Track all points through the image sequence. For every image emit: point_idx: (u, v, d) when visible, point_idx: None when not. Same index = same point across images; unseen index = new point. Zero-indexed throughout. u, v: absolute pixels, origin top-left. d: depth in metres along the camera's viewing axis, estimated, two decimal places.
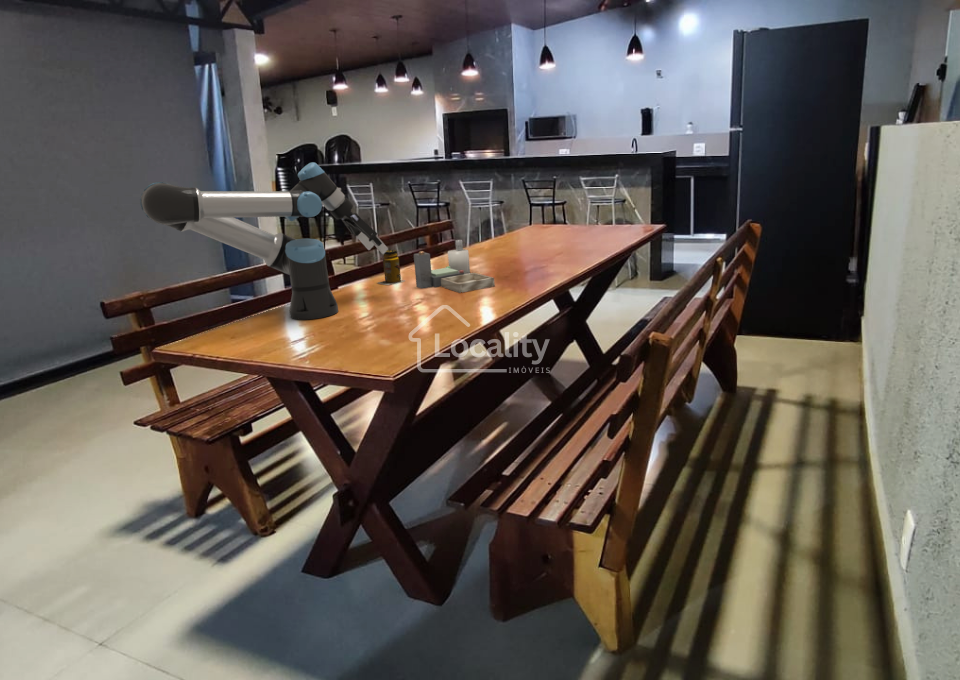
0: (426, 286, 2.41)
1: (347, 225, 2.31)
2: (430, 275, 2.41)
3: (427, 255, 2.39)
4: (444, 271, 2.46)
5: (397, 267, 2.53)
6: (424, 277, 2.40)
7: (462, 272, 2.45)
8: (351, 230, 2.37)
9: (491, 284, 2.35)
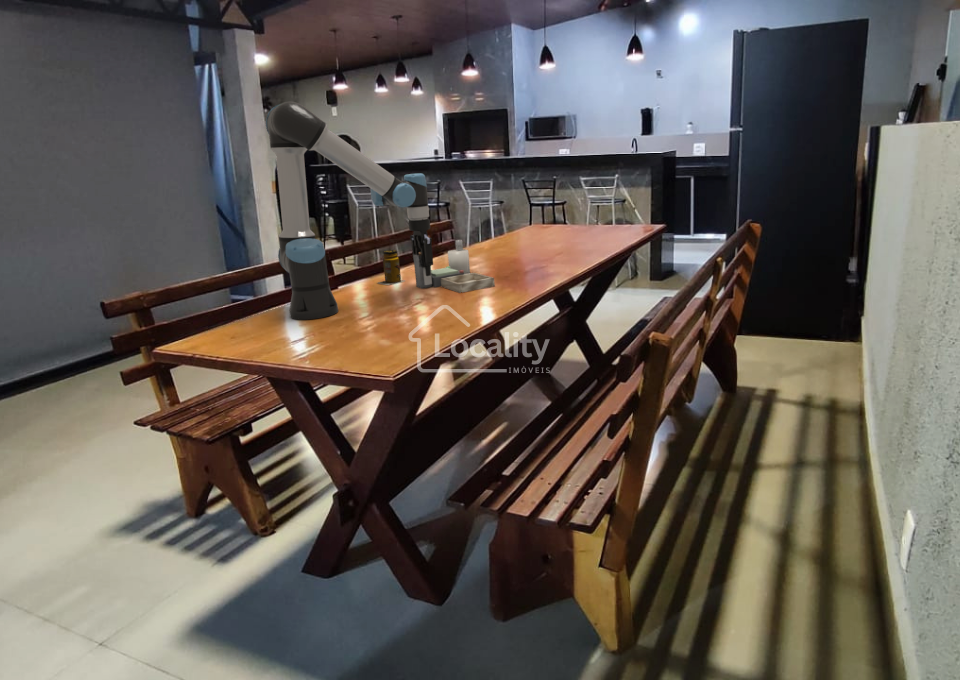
0: (426, 286, 2.41)
1: (414, 245, 2.40)
2: None
3: None
4: (444, 271, 2.46)
5: (397, 267, 2.53)
6: None
7: (462, 272, 2.45)
8: None
9: (491, 284, 2.35)
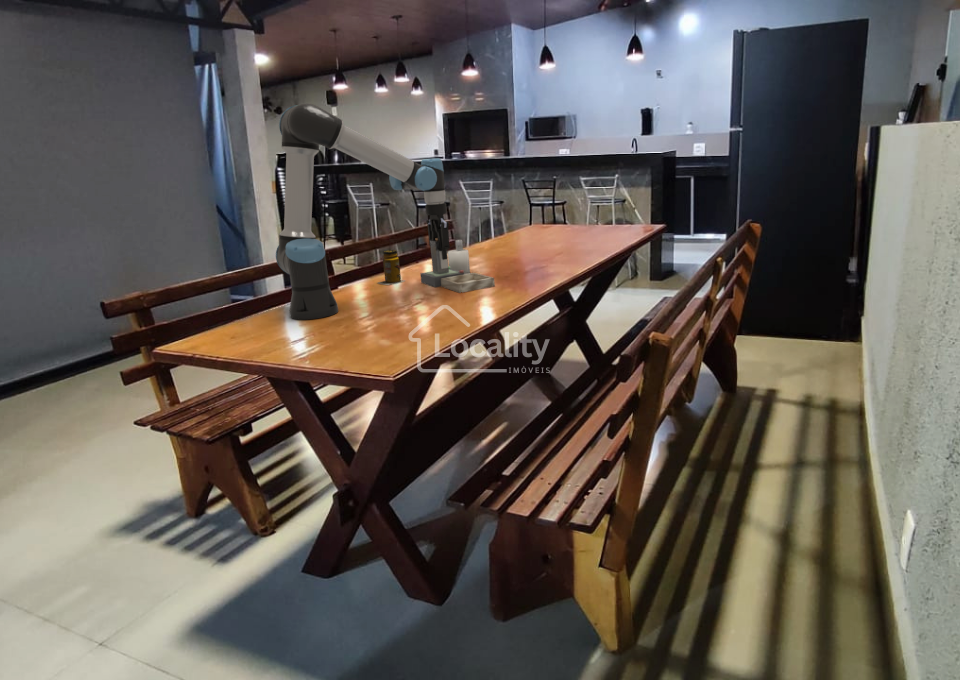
0: (442, 272, 2.46)
1: (431, 229, 2.44)
2: None
3: None
4: (444, 273, 2.46)
5: (397, 267, 2.53)
6: None
7: (462, 272, 2.45)
8: None
9: (491, 284, 2.35)
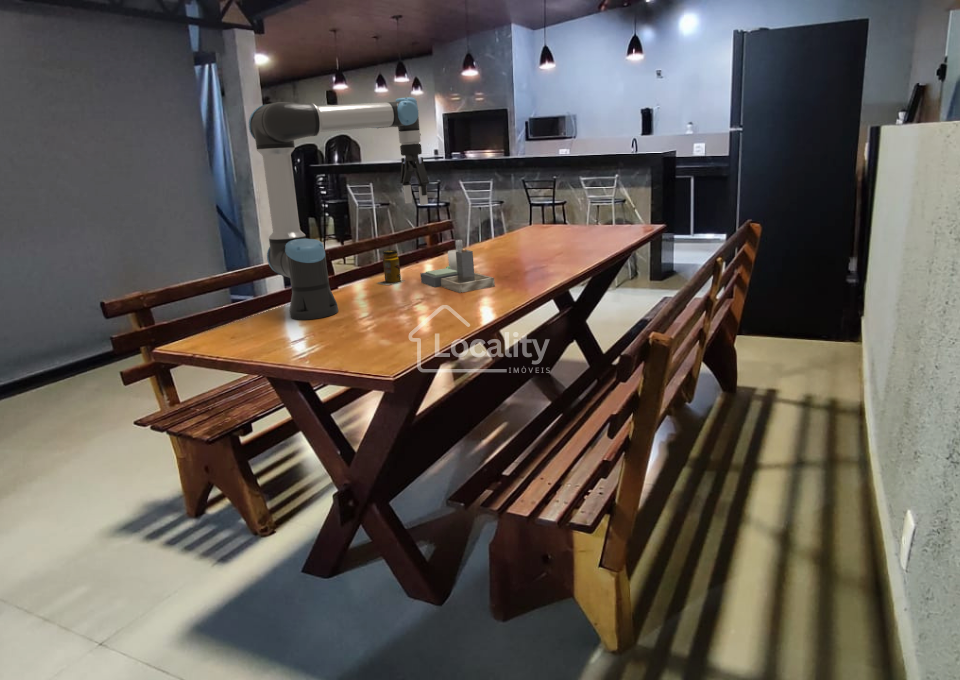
0: None
1: (404, 168, 2.44)
2: (473, 273, 2.36)
3: (470, 252, 2.33)
4: (444, 272, 2.46)
5: (397, 267, 2.53)
6: (467, 275, 2.35)
7: None
8: (402, 178, 2.50)
9: (491, 284, 2.35)
